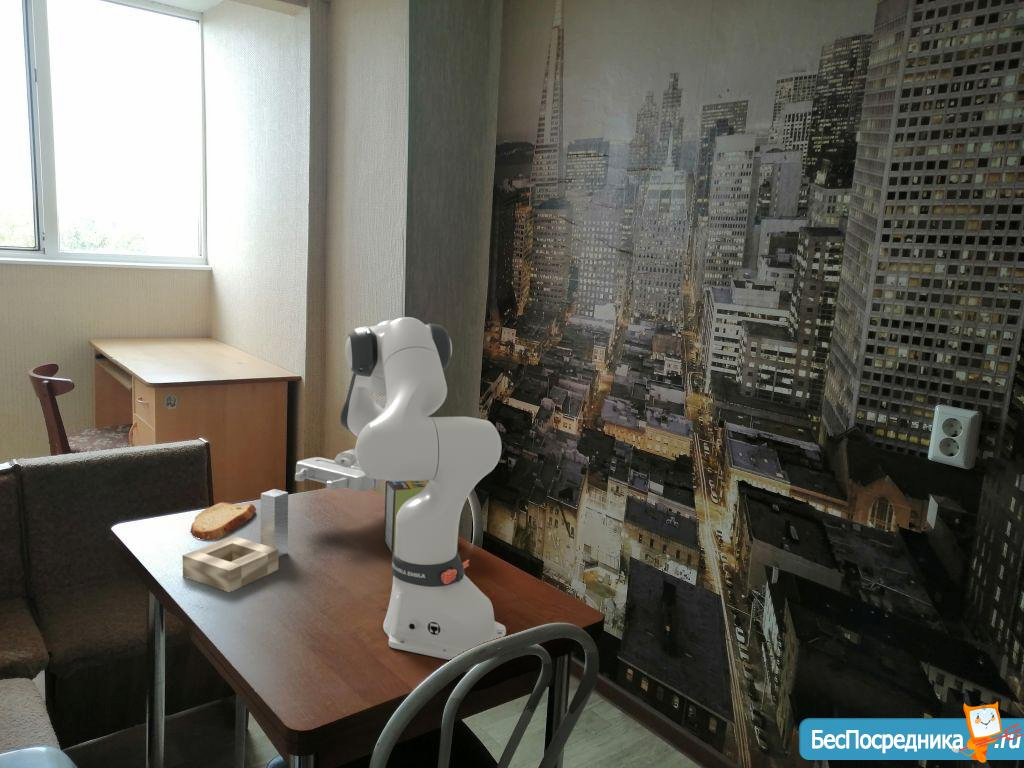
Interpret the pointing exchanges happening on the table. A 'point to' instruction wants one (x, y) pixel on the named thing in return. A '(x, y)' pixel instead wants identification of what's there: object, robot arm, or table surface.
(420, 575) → the robot arm
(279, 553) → the steel post
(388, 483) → the protein box
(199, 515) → the bread slice
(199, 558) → the well block
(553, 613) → the table surface
